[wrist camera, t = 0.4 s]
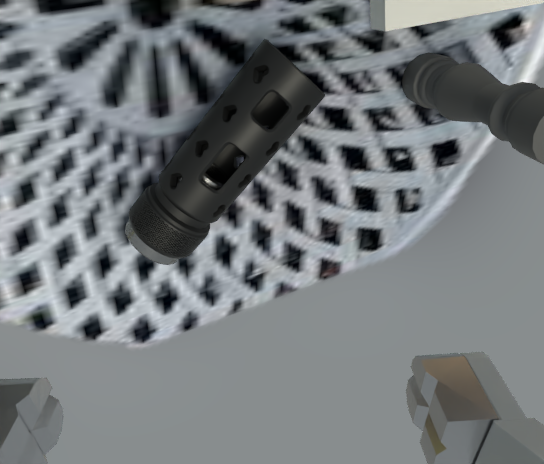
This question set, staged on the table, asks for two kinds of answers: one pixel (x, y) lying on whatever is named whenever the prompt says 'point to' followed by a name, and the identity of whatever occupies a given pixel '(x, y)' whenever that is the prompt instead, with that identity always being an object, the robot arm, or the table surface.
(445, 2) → the socket block
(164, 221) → the muzzle brake
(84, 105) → the table surface
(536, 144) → the candle holder
